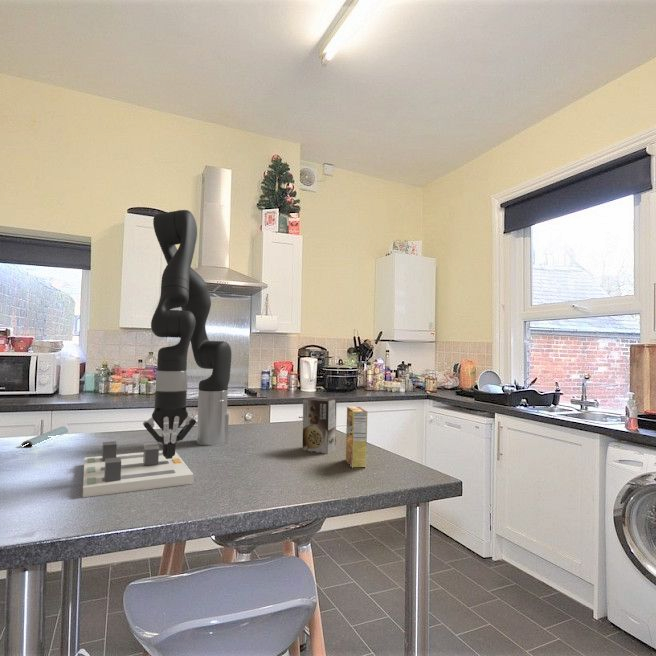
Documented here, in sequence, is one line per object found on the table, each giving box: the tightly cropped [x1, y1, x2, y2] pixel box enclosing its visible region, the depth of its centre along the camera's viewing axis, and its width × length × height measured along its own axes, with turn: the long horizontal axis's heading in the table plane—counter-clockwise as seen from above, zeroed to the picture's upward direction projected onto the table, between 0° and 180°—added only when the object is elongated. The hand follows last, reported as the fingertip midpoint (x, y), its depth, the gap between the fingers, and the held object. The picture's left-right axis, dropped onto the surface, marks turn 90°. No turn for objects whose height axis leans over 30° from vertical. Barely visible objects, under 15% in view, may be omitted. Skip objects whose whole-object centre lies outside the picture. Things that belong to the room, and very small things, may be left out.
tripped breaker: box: [142, 442, 160, 465], centre depth 106 cm, size 3×4×4 cm
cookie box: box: [301, 396, 337, 454], centre depth 135 cm, size 9×6×16 cm
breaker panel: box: [82, 440, 194, 498], centre depth 105 cm, size 22×26×6 cm
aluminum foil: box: [20, 426, 69, 446], centre depth 137 cm, size 23×7×3 cm, turn 8°
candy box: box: [345, 406, 368, 469], centre depth 120 cm, size 9×4×15 cm, turn 10°
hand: (168, 458), depth 108 cm, fingers closed
